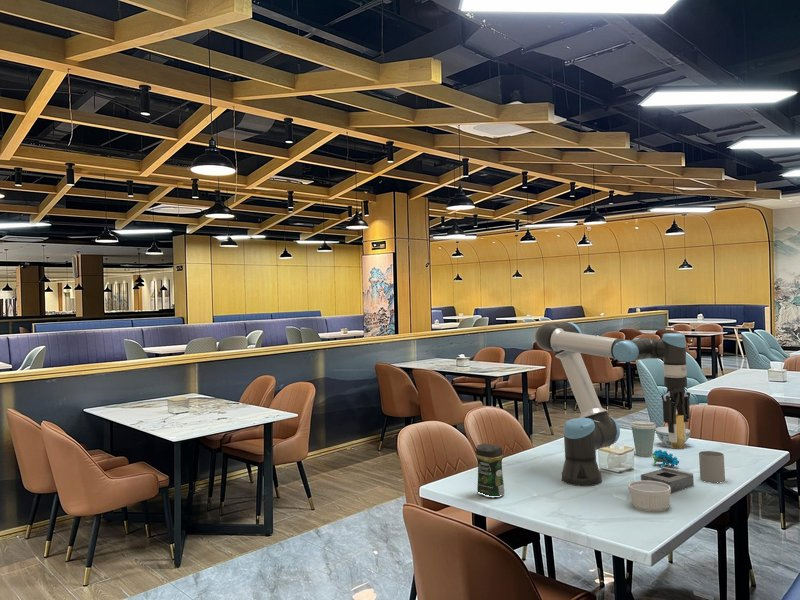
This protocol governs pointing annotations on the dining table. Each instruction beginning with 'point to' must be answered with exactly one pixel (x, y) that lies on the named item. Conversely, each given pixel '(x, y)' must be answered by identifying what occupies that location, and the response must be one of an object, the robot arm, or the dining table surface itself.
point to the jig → (670, 478)
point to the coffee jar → (490, 470)
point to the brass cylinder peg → (679, 433)
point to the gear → (664, 458)
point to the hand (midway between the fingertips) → (677, 440)
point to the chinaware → (664, 435)
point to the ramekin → (650, 495)
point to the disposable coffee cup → (643, 437)
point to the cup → (712, 466)
